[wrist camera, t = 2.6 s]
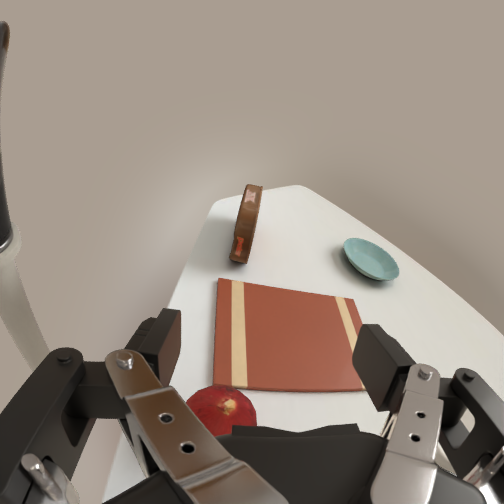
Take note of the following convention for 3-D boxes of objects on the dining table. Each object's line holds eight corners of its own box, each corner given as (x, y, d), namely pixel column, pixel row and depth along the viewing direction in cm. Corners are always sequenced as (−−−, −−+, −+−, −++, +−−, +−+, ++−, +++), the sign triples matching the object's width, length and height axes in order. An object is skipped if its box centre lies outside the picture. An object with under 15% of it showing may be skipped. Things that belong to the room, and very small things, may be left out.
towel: (212, 385, 26) (213, 383, 25) (217, 280, 37) (218, 277, 37) (381, 389, 29) (384, 386, 29) (351, 301, 41) (353, 298, 41)
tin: (244, 276, 40) (261, 224, 35) (221, 270, 39) (236, 217, 35) (254, 222, 52) (267, 180, 47) (237, 217, 52) (249, 174, 47)
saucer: (331, 265, 48) (337, 254, 46) (346, 239, 57) (351, 230, 56) (390, 299, 45) (397, 289, 43) (395, 267, 54) (400, 258, 52)
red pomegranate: (193, 395, 24) (205, 351, 20) (251, 418, 24) (280, 381, 19) (168, 446, 19) (171, 419, 15) (232, 471, 19) (260, 453, 14)
